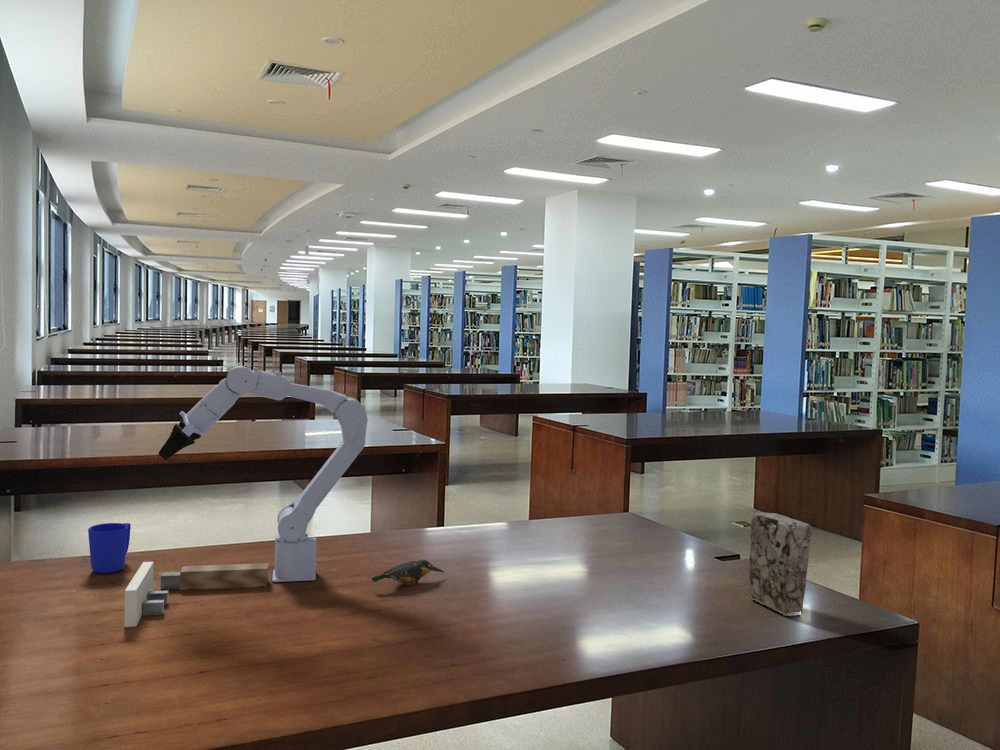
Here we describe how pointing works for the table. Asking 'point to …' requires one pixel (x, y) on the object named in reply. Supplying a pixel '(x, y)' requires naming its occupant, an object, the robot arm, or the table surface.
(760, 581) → the stone block
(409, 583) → the bird model
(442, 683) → the table surface
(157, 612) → the post
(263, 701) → the table surface
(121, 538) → the mug
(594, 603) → the table surface
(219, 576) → the walnut rail
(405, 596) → the table surface
